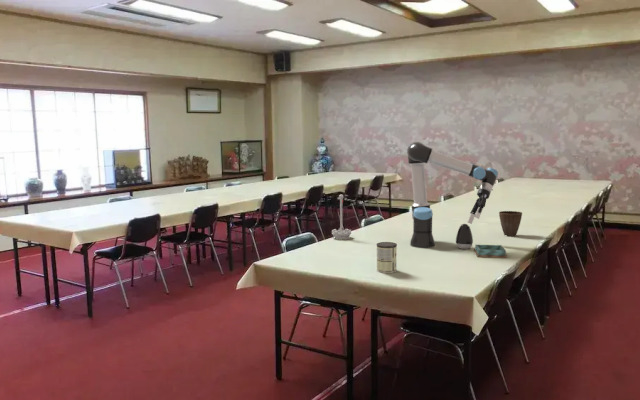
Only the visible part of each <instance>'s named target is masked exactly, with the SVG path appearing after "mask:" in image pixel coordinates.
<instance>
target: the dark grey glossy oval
mask: <svg viewBox="0 0 640 400" xmlns="http://www.w3.org/2000/svg"><path fill="white" fill-rule="evenodd" d="M473 238H474V237H473V233H472V230H471V226H470V225H468V224H467V223H462V224H460V226H459V228H458V230H457V233H456V238H455V244H456V246H457V247H458V248H459V249H461V250H469V249H471V247H473V243H474V240H473Z"/></svg>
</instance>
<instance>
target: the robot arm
mask: <svg viewBox="0 0 640 400" xmlns="http://www.w3.org/2000/svg"><path fill="white" fill-rule="evenodd" d="M406 153H407V161H408V163H407V164H408V165H409V166H410V168H411V169H410V170H411V171H410V172H411V180H412V181H411V182H412V197H413V203H412V204H411V211H412V212H411V213H412V214H411V215H412V217H411V218H412V221H413V224H412V225H413V230H412V231H413V233H412V236H411V239H410V246H411V247H414V248H433V247H435V244H436V242H435V239H434V235H433V216H434V215H433V210H432V208H431V203H429V202H428V193H427V192H428V191H427V182H426V168H425V167H426V166H425V165H426V164H433V165H435V166H437V167H438V166H439V167H440V168H445V169H447V170H450V171H453V172H456V173H458V174H462V175H464V176H468V177H471V178H473V179H475V180H479V181H481V183H480V186H479V188H478V190H477V193H476V195H477V197H478V198H477V199H476V200H475V203H474V205H473V207H472V209H471V211H470V213H469V217H468V220H467V223H468V224H471V225H472V224H473V222H474V219H475V218H476V219H480V217H481V215H482V213H483V209H484V207H486V203H487V200H488V199H489V198H490V196H491V192H492V191H494V190H493V187H494V185H495V183H496V181H497V177H498V175H499V173H498V170H497V169H495V168H493V167H488V168H483V166H482V167H481V166H479V165H478V164H477V165H476V164H475V163H471V162H467V161H464V160H461V159H459V158H455V157H452V156H450V155H447V154H444V153H441V152H438V151H435V150H434V149H433V148H431V147H429V146H426V145H425V144H423V143H422V142H419V141H415V142H412V143H410V144H409V145H408V146H407V149H406Z"/></svg>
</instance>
